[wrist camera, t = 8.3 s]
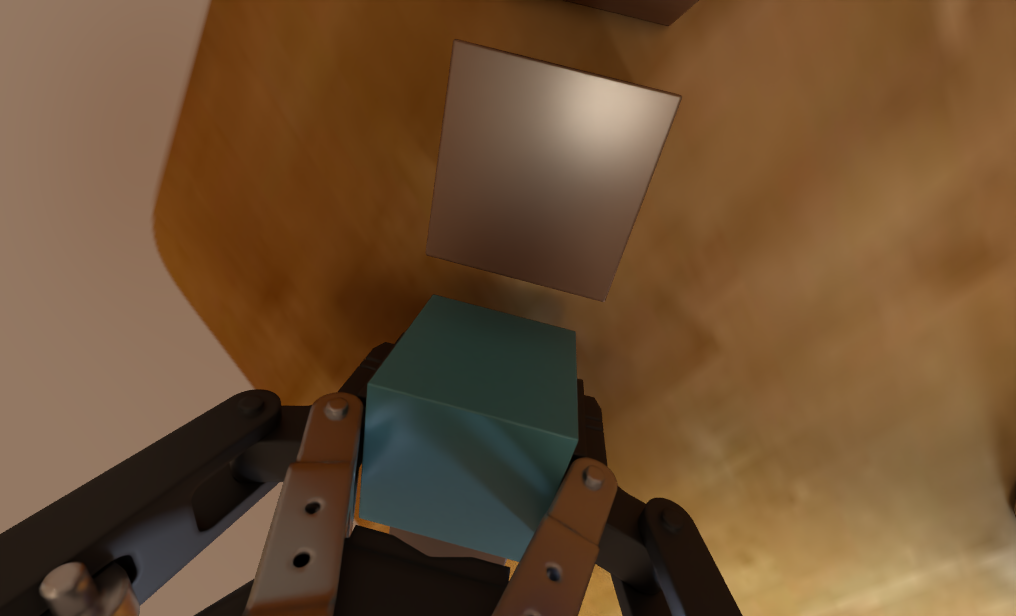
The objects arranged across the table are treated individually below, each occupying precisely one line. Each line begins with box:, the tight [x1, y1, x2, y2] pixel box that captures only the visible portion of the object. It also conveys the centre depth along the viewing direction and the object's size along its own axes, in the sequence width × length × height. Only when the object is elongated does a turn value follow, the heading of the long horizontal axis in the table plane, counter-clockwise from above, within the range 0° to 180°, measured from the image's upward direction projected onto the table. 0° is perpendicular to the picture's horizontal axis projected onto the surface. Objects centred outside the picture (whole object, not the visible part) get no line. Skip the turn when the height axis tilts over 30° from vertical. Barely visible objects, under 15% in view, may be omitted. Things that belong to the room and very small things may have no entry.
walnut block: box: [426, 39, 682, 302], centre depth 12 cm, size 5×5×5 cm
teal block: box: [359, 295, 579, 562], centre depth 12 cm, size 5×5×5 cm
